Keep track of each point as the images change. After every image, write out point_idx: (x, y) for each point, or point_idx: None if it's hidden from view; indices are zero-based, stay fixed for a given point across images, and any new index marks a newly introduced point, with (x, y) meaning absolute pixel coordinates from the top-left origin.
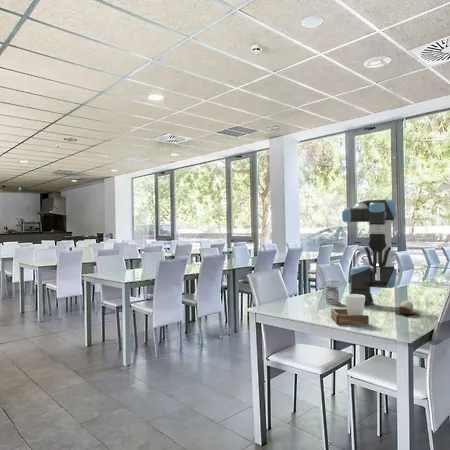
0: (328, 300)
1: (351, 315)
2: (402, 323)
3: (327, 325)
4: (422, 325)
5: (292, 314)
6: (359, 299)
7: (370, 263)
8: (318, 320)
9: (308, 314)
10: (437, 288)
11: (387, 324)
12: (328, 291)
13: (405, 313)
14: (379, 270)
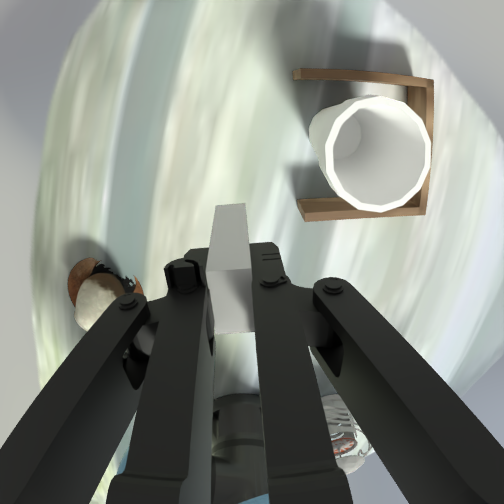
0: (346, 406)
1: (378, 73)
2: (138, 131)
3: (444, 69)
4: (73, 117)
5: (500, 230)
6: (365, 96)
7: (360, 297)
8: (458, 146)
9: (462, 237)
10: None
11: (205, 98)
12: (352, 429)
13: (107, 273)
14: (212, 251)
